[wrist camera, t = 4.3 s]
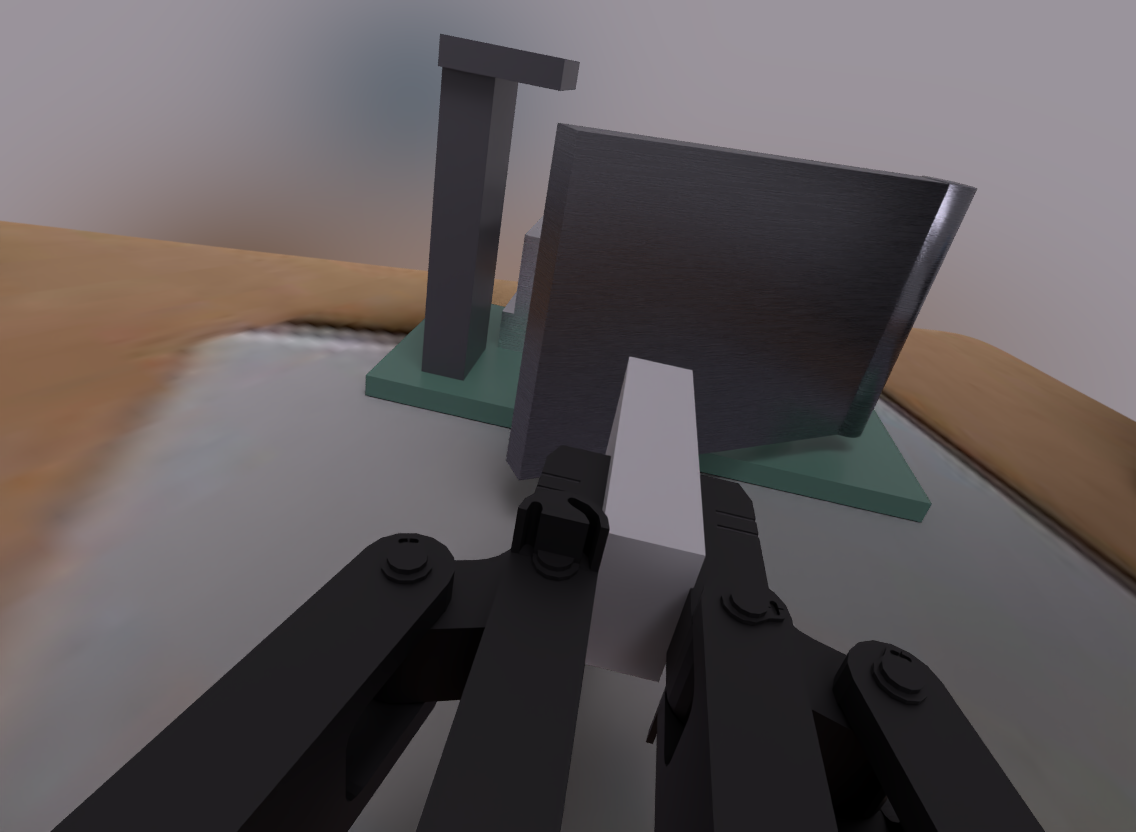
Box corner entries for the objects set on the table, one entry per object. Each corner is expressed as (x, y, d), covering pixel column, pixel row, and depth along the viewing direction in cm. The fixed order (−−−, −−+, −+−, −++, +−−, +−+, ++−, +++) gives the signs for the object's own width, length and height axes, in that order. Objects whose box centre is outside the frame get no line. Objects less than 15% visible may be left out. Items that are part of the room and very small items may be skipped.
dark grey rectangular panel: (838, 413, 31) (941, 178, 26) (870, 435, 29) (988, 190, 24) (501, 454, 23) (551, 120, 17) (523, 487, 21) (585, 133, 16)
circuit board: (852, 399, 38) (859, 385, 37) (921, 522, 27) (932, 503, 27) (448, 310, 39) (449, 294, 38) (365, 394, 28) (365, 375, 28)
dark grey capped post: (532, 359, 32) (581, 62, 26) (513, 397, 29) (565, 59, 22) (448, 340, 33) (475, 40, 26) (417, 375, 29) (440, 33, 22)
